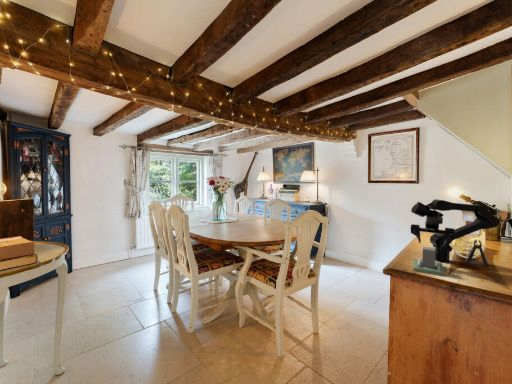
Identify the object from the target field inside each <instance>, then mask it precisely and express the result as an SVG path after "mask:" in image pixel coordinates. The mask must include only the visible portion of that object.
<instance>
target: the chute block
mask: <svg viewBox="0 0 512 384" xmlns="http://www.w3.org/2000/svg"><path fill="white" fill-rule="evenodd" d="M421 260H422V267H428V268H434V269H435V262H436V260H435V247H432V246H431V247H430V246H424V245H423V247H422V258H421Z"/></svg>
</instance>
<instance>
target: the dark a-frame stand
mask: <svg viewBox="0 0 512 384" xmlns="http://www.w3.org/2000/svg"><path fill="white" fill-rule="evenodd" d="M476 243H479V244H476ZM482 244H483V243H482V241H481V240H480V239H479V240H477V239H475V240H473V245H472V246H471V248H470V251H469V252H468V254H467V256H468V258H467V257H466V258H467V259H466V258H465V263H466V264H468V265H475V266H482V267H488V268H489V267H490V266H489V262H488V260H487V258H486V255H485V252H484V250H483V247H482V246H483V245H482ZM477 249H478V250H479V253H480V256H481V259H482V261H477V260H472V259H473V257H474V255H475V253H476V250H477Z"/></svg>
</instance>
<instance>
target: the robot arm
mask: <svg viewBox="0 0 512 384" xmlns="http://www.w3.org/2000/svg"><path fill="white" fill-rule="evenodd" d="M445 211H447V212H448V211H460V212H461V211H463V212H472V213H473V214H474V216H475V219H474V221H472V222H470V223H467V224H465V225H463V226H460V227H458V228H452V227H444V229H440V225H443V222H444V221H443V217H444V216H445V215H444V214H443V213H442V212H445ZM410 212H411V213H412V214H414V215H417V216H419V217H421V218H423V217H425V218H426V219H425V221H424V222H425V223H424V225H425V226H424V227H421V225H420V224H415V223H414V224H411V225H410V234H412V235H413V236H415V237H416V238H417V240H418V243H419V245H420V244H421V241H422V240H421V232H423V233H429V234H432V235H430V238H429V242H430V243H431V244H432V246H433V247H432V248H435V261H436V262H439V263H446V262H447V263H452V260H450V256H451V254H450V253H451V252H452V250H453V249H454V247H452V246H451V243H452V242H453V241H455V240H458V239H460V238H463V237H465V236H467V235H470V234H472V233H476V232H478V231H481V230H487V229H488V230H489V229H494V228H496V227H499V226H500V219H499V218H498V217H497V216H495V215H494V214H492V212H490V211H489V210H487V208H485V206H484V205H480V204H476V203H474V204H472V203H471V204H470V203H459V202H452V201H448V200H443V199H433V200H432V201H431V202H430V203H427V204H424V203H422V202H420V201H417V203H415V204H414V205H412V208H411V210H410Z"/></svg>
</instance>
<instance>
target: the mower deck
mask: <svg viewBox="0 0 512 384" xmlns="http://www.w3.org/2000/svg"><path fill="white" fill-rule="evenodd" d="M413 260H414V261H413V272H419V273H426V274H432V275H436V276H437V275H438V276H442V277H445V270H444V265H443V262H439V261H435V269H434V268H428V267H422V259H421V258H414V259H413Z"/></svg>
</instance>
